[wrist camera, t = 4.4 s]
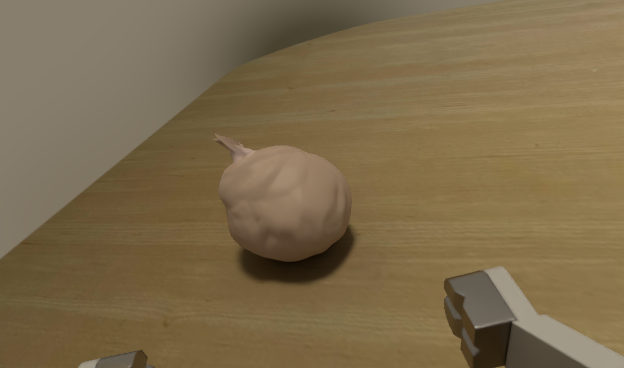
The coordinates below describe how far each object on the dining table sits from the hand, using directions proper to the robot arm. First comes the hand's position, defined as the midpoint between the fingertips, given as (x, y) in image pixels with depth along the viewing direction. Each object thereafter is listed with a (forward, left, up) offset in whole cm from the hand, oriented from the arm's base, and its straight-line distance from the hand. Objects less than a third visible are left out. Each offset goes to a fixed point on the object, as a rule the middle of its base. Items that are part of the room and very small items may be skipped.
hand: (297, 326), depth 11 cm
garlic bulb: (+2, +12, -8) cm, 14 cm away
